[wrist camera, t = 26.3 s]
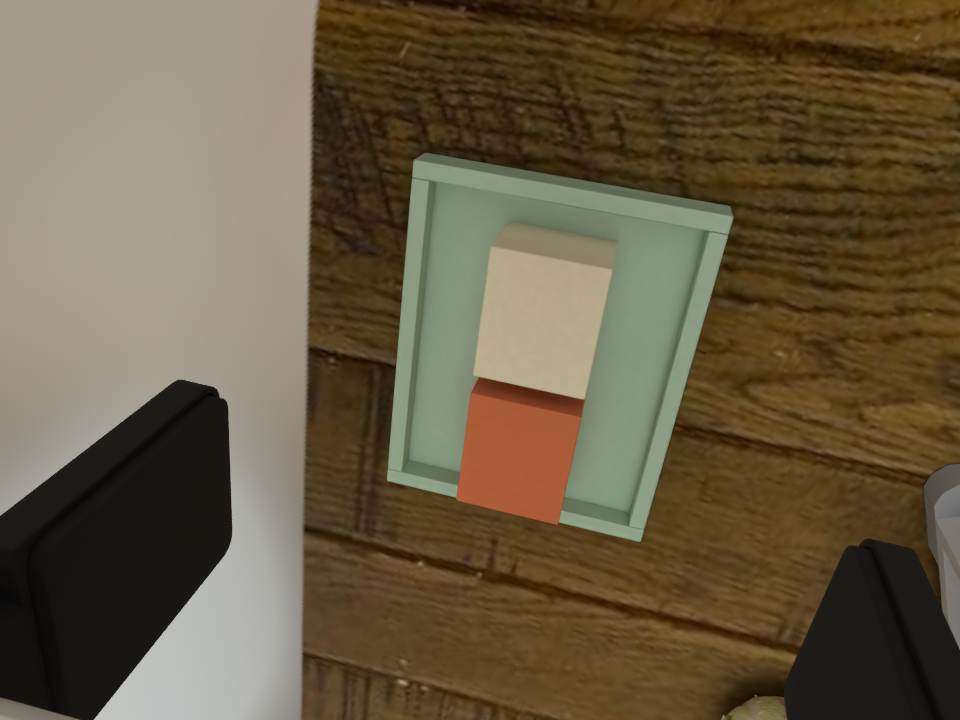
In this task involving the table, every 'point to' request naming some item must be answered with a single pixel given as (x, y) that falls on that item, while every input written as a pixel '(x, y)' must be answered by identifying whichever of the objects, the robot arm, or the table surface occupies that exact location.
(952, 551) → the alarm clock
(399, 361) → the sage green tray
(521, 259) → the beige block
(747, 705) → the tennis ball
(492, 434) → the terracotta block
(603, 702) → the table surface
